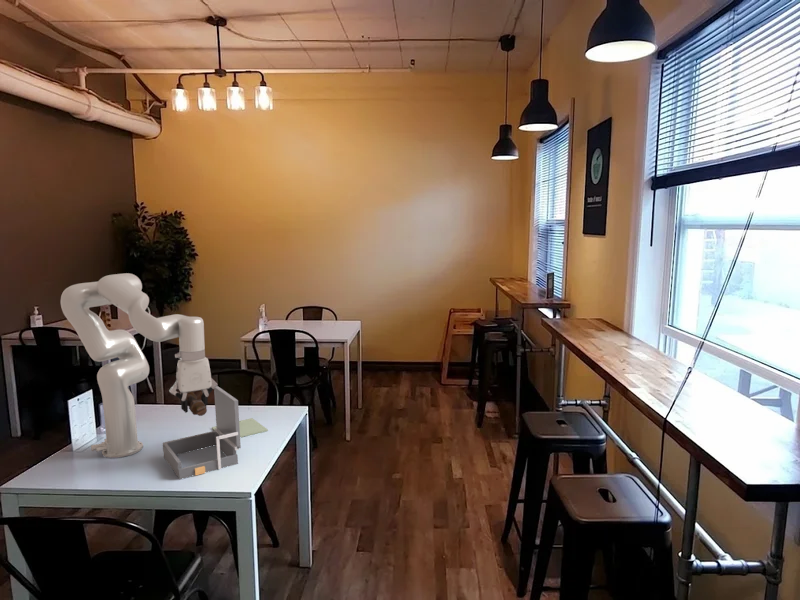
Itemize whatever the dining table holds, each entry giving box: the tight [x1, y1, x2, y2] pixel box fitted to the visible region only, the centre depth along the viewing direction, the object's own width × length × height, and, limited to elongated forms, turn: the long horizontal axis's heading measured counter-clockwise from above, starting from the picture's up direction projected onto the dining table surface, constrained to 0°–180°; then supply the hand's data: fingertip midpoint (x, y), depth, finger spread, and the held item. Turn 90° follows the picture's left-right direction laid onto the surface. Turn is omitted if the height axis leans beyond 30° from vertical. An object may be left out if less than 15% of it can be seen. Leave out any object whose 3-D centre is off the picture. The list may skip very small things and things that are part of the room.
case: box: [162, 385, 242, 480], centre depth 175 cm, size 19×22×21 cm
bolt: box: [177, 391, 208, 417], centre depth 174 cm, size 6×5×15 cm
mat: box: [211, 417, 269, 438], centre depth 203 cm, size 16×16×1 cm
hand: (194, 409), depth 174 cm, fingers closed on bolt, 5 cm apart
